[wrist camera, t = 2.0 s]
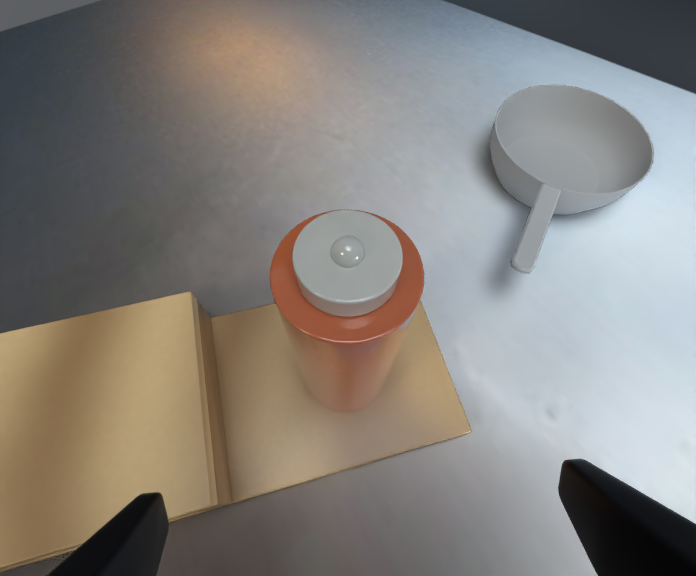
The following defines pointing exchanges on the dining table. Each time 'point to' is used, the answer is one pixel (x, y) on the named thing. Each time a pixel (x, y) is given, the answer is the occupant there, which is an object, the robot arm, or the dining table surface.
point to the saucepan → (564, 156)
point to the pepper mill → (346, 302)
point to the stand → (184, 417)
